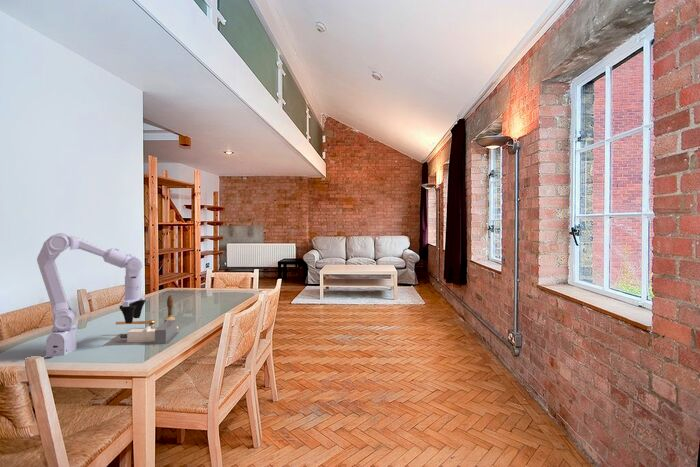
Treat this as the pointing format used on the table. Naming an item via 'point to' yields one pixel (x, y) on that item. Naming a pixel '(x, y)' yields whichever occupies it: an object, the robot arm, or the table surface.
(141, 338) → the plug
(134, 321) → the ball-topped lever
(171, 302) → the hand bell
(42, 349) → the table surface
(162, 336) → the grey base plate
